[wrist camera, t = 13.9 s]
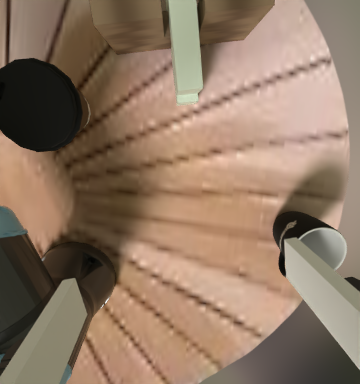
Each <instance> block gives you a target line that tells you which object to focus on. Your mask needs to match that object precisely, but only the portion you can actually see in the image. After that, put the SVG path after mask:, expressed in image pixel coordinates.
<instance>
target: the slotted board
mask: <svg viewBox="0 0 360 384" xmlns="http://www.w3.org/2000/svg"><path fill="white" fill-rule="evenodd" d="M89 2H90V8H91V13H92V19H93V24H94V26H95V28H96V29H97V30H98V31H99V33H100V34H101V35H102V36H103V38H104V39H105V40H106V41H107V43H108V44H109V45H110V46H111V48H112V49H113V50H114V51H115V53H116V54H125V53H134V52H143V51H152V50H160V49H169V48H171V36H170V27H169V17H168V11H162V9H161V0H89ZM274 5H275V0H199V3H198V7H197V16H198V28H199V41H200V45H204V44H212V43H221V42H230V41H238V40H244V39H245V38H246V37H247V35H248V34H249V33H250V32H251V31H252V30H253V29H254V27H255V26H256V25H257V24H258V23H259V22H260V21H261V20H262V18H263V17H264V16H265V15H266V14H267V13H268V12H269V11H270V9H271V8H272V7H273V6H274Z"/></svg>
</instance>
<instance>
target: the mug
mask: <svg viewBox="0 0 360 384" xmlns="http://www.w3.org/2000/svg"><path fill="white" fill-rule="evenodd" d="M273 236H274V239H275V241H276V243H277V245H278V247H279V249H280V251H281V252H280V256H279V269H280V272H281V273H282V275H283V276H284V277H286V270H285V246H284V240H285V239H290V238H297V239H299V240H300V241H301V242H302V243H303V244H304V245H306V246H307V247H308V248H309V249H310V250H311V251H313V252H314V253H315V254H316V255H317V256H318V257H320V258H321V259H322V260H323V261H324V262H325V263H327V264H328V265H329V266H330V267H331V268H332V269H334V270H336V269H337V268H338V267H339V266H340V265H341V264H342V262H343V261H344V259H345V256H346V252H347V244H346V241H345V238H344V237H343V236H342V234H341V233H339V232H338V231H337V230H336V229H334V228H333V227H331V226H329V225H328V224H326V223H324V222H322V221H320V220H318V219H316V218H314V217H312V216H309V215H307V214H304V213H301V212H287V213H284V214H282V215H281V216H279V217H278V218H277V219H276V221H275V223H274V225H273Z"/></svg>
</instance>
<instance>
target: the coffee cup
mask: <svg viewBox="0 0 360 384" xmlns="http://www.w3.org/2000/svg"><path fill="white" fill-rule="evenodd" d="M90 114H91V113H90V107H89V104H88V102H87V100H86V99H85V97H84V96H83V95H82V93H81V92H80V91H79V90H77V89H76V88H75V86H74V84H73V83H72V81H71V79H70V78H69V77H68V76H67V75H65V74H64V73H63V72H62V71H61V70H59V69H58V68H57V67H56V66H55V65H52V64H49V63H47V62H44V61H41V60H38V59H35V58H29V59H17V60H14V61H12V62H11V63H9V64H7V65H6V66H4V67H2V68H1V69H0V130H1V131H2V133H3V134H4V135H5V136H6V137H8V138H9V139H11V140H12V141H13V142H15V143H16V144H18V145H19V146H20V147H23V148H26V149H29V150H33V151H36V152H44V151H55V150H58V149H60V148H61V147H63V146H65V145H67V144H69V143H70V142H71V141H72V140H73V138H74V137H75V135H76V134H78V133H79V132H81V131H82V130H83V128H84V127H85V126H86V125H87V123H88V122H89V119H90Z"/></svg>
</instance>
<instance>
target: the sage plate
mask: <svg viewBox="0 0 360 384" xmlns="http://www.w3.org/2000/svg"><path fill="white" fill-rule="evenodd" d="M165 2H166V11H168V17H169V27H170V36H171V57H172V66H173V75H174V85H175V94H176V103H177V106H181V105H189V104H195V103H197V102H198V93H199V92H200V91H201V90H202V89H203V79H202V67H201V54H200V41H199V28H198V16H197V3H196V0H165Z"/></svg>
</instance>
